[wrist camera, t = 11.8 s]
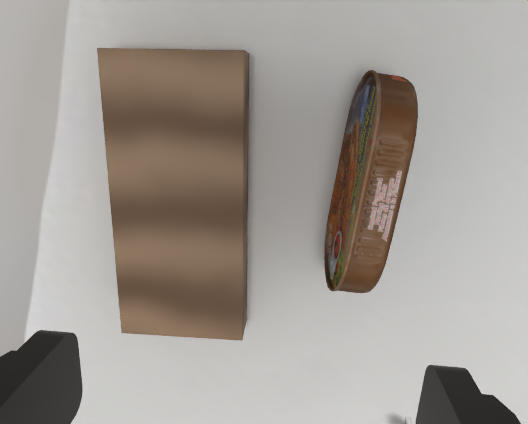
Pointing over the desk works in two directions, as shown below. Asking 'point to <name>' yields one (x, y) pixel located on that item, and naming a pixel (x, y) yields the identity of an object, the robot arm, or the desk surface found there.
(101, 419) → the desk surface
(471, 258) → the desk surface
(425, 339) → the desk surface
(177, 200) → the walnut riser
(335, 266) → the tin
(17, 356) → the robot arm
